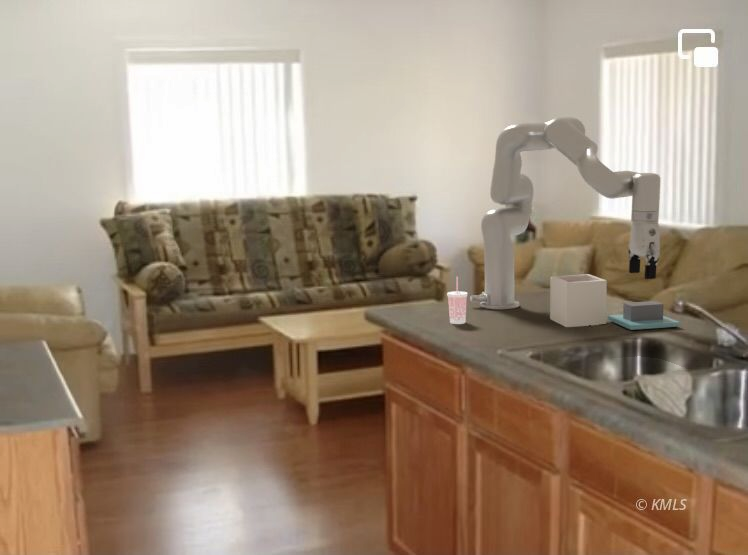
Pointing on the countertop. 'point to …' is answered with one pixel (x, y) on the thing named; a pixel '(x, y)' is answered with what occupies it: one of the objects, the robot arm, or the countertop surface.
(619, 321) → the teal lid
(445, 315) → the countertop surface
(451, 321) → the beverage cup
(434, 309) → the countertop surface
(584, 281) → the off-white crate
